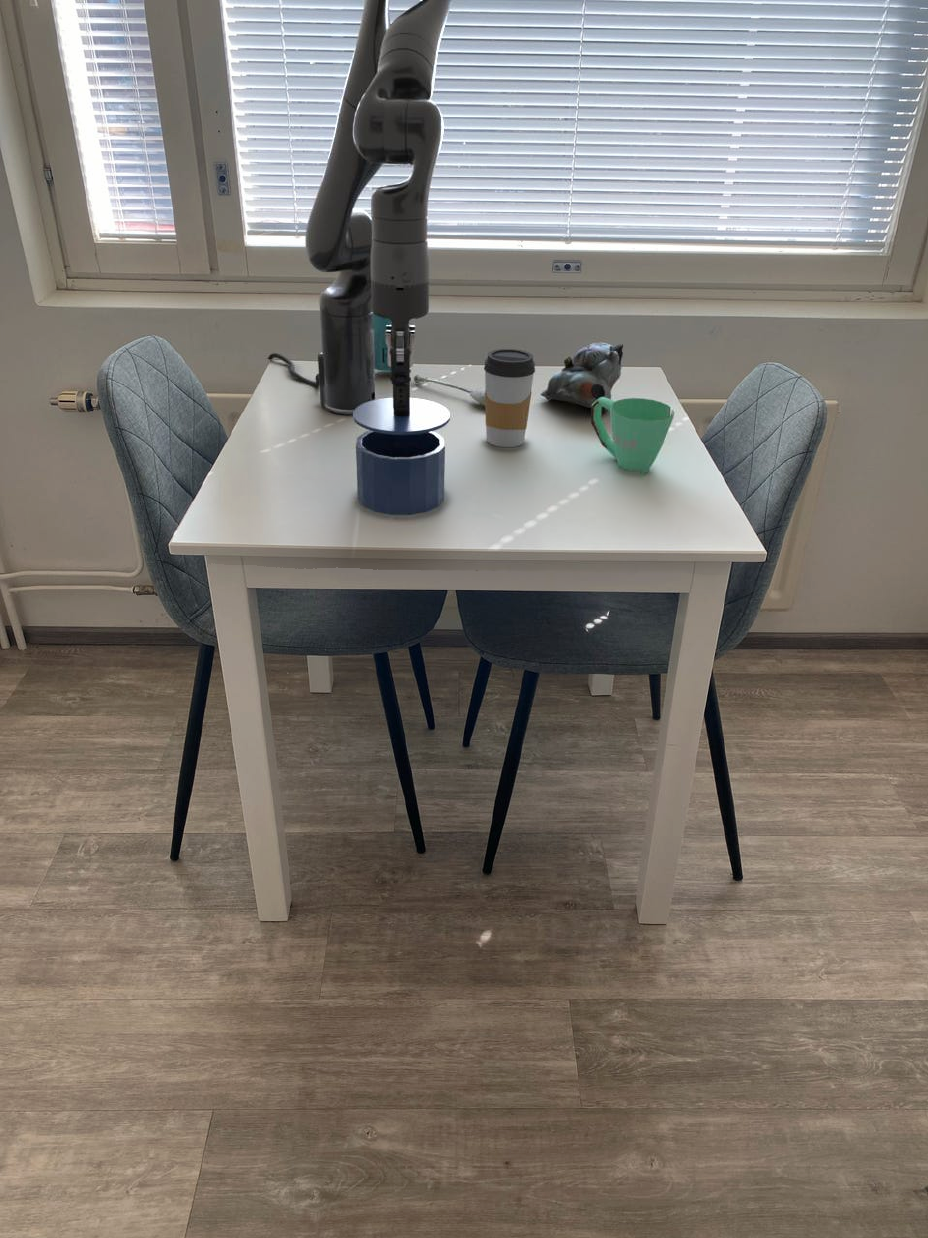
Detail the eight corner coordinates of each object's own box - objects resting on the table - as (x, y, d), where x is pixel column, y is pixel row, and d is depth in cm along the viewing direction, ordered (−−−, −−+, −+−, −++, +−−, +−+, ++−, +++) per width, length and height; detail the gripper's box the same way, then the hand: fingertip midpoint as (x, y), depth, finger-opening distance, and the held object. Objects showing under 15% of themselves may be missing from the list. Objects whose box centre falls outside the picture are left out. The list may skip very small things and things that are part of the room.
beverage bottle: (379, 380, 178) (376, 274, 167) (366, 370, 183) (363, 267, 172) (409, 376, 180) (408, 272, 169) (395, 366, 185) (394, 265, 174)
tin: (356, 518, 127) (353, 458, 122) (360, 481, 137) (358, 425, 133) (444, 518, 128) (446, 459, 123) (442, 481, 138) (443, 426, 133)
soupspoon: (493, 417, 164) (514, 410, 169) (495, 399, 162) (517, 392, 167) (405, 385, 175) (427, 379, 179) (406, 368, 173) (428, 362, 178)
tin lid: (350, 438, 120) (348, 395, 117) (355, 403, 131) (354, 363, 128) (451, 439, 121) (452, 397, 118) (448, 404, 132) (449, 365, 129)
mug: (676, 470, 145) (687, 410, 139) (638, 486, 139) (647, 424, 134) (607, 443, 154) (614, 386, 148) (568, 457, 148) (574, 398, 143)
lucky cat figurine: (533, 394, 173) (562, 325, 170) (587, 418, 176) (616, 350, 174) (555, 397, 159) (587, 322, 156) (613, 424, 162) (645, 350, 160)
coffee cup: (525, 455, 148) (532, 365, 140) (476, 449, 149) (480, 360, 141) (532, 437, 155) (539, 350, 147) (485, 432, 156) (489, 345, 148)
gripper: (372, 263, 121) (375, 389, 130) (368, 288, 109) (372, 423, 119) (428, 265, 121) (427, 389, 131) (430, 289, 110) (428, 424, 119)
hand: (401, 405), depth 125 cm, fingers closed on tin lid, 2 cm apart
